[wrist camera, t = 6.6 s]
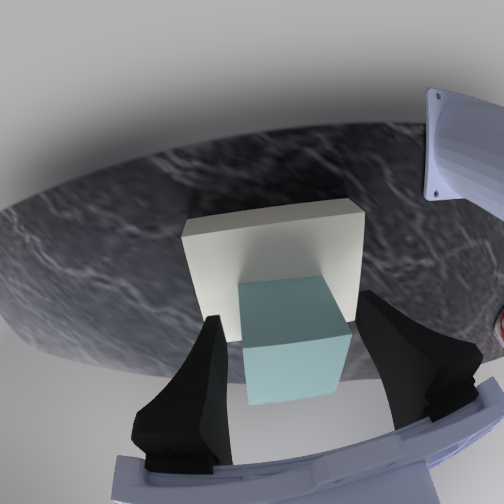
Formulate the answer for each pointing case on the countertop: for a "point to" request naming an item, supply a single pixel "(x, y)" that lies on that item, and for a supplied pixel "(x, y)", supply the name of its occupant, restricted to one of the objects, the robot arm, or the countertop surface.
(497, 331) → the soda can
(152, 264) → the countertop surface
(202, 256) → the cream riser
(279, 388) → the teal cube
